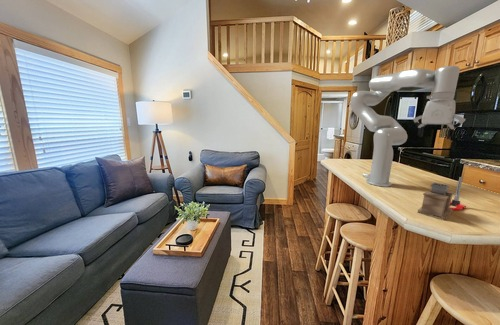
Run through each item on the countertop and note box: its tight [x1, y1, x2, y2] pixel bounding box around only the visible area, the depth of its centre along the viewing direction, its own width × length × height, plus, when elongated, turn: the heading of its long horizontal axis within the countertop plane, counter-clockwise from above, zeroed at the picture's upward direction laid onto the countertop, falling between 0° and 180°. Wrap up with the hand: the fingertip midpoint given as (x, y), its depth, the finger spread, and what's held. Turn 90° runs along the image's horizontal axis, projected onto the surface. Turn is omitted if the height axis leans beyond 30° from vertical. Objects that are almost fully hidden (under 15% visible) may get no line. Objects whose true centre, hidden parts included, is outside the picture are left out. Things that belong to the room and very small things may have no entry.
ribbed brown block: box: [417, 188, 455, 221], centre depth 83 cm, size 8×14×8 cm, turn 128°
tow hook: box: [449, 176, 467, 212], centre depth 88 cm, size 8×13×9 cm
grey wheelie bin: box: [430, 182, 450, 196], centre depth 82 cm, size 5×5×10 cm
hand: (433, 137), depth 94 cm, fingers open, 9 cm apart
